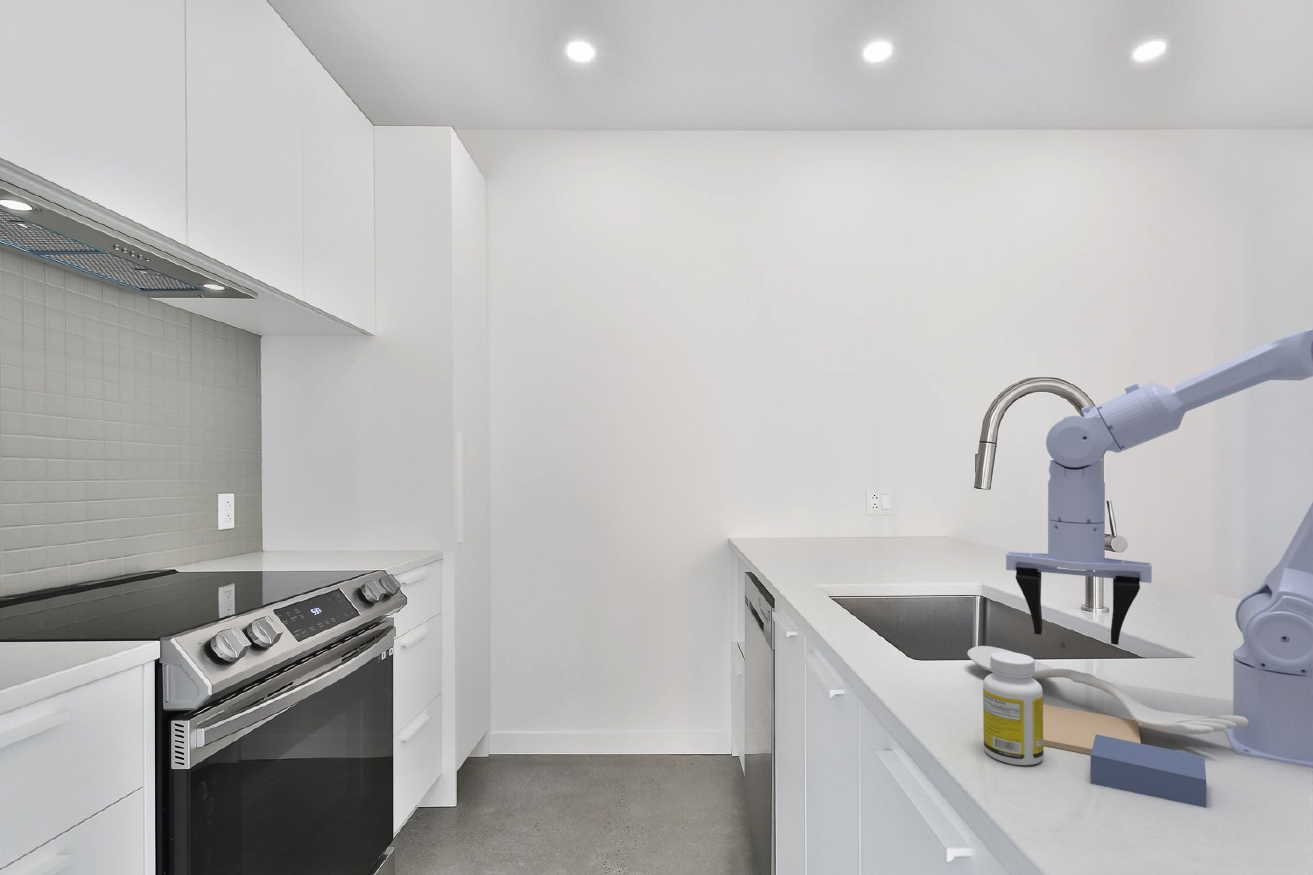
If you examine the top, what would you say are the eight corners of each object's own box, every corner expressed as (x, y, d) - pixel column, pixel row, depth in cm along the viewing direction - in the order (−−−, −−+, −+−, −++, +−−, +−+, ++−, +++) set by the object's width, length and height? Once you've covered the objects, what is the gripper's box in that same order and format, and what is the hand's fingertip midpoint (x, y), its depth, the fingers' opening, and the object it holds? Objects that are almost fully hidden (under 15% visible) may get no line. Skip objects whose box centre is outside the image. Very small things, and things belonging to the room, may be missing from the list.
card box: (1204, 789, 66) (1204, 756, 66) (1206, 815, 62) (1206, 779, 62) (1095, 764, 71) (1095, 734, 71) (1090, 786, 67) (1090, 754, 67)
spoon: (1185, 759, 69) (1185, 723, 69) (952, 666, 100) (952, 640, 100) (1251, 750, 72) (1251, 715, 72) (1005, 661, 102) (1005, 637, 103)
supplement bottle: (1024, 742, 75) (1024, 648, 75) (1054, 766, 70) (1055, 665, 70) (973, 743, 75) (973, 649, 75) (999, 767, 70) (1000, 666, 70)
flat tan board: (1137, 725, 80) (1137, 720, 80) (1142, 765, 70) (1142, 758, 70) (997, 701, 87) (997, 696, 87) (985, 733, 78) (985, 728, 78)
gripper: (1149, 521, 84) (1148, 638, 84) (1010, 513, 92) (1010, 621, 92) (1153, 527, 78) (1152, 653, 78) (1004, 519, 86) (1003, 634, 86)
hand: (1075, 637), depth 85 cm, fingers open, 7 cm apart
